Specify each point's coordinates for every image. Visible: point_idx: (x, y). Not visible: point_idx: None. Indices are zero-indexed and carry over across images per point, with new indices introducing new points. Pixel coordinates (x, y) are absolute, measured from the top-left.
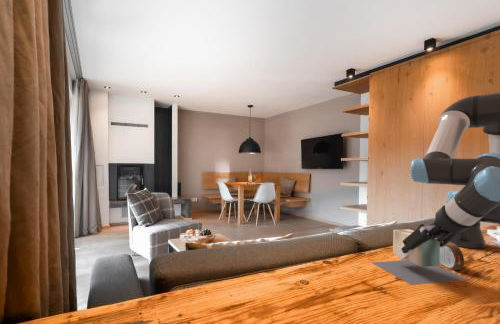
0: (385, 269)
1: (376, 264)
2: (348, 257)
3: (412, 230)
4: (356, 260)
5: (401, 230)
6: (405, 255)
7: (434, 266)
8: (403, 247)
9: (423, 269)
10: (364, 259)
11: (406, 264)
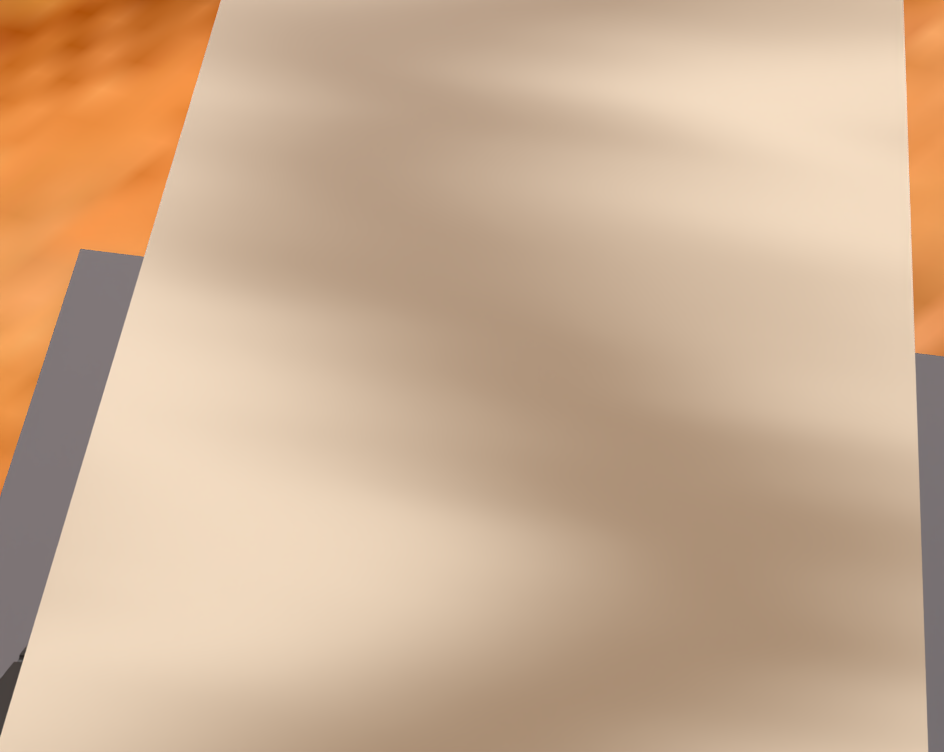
0: (19, 528)
1: (76, 334)
2: (5, 3)
3: (897, 169)
4: (6, 112)
5: (434, 71)
6: None
7: (941, 683)
8: (18, 670)
9: None
10: (148, 112)
11: None
